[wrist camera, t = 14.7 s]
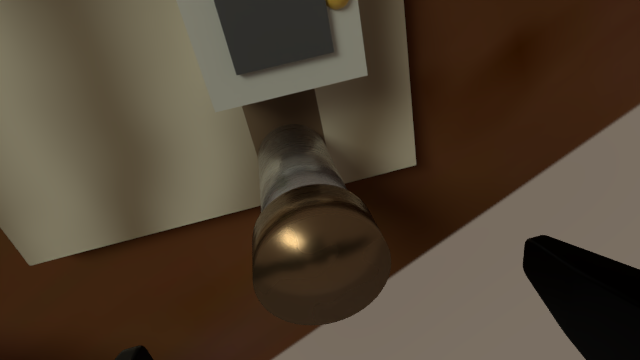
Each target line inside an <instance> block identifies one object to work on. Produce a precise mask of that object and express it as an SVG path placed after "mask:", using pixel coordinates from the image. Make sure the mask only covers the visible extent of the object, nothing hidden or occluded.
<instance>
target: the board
mask: <svg viewBox="0 0 640 360" xmlns="http://www.w3.org/2000/svg"><path fill="white" fill-rule="evenodd" d="M358 6H359V14H360V21H361V29H362V36H363V44H364V51H365V59H366V66H367V74H368V75H367V76H363V77H359V78H355V79H351V80H346V81H342V82H338V83H334V84H330V85H326V86H322V87H318V88H314V89H310V90H305V91H301V92H297V93H293V94H289V95H285V96H281V97H277V98H273V99H269V100H264V101H260V102H256V103H252V104H248V105H244V106H240V107H236V108H232V109H228V110H223V111H219V112H215V110H214V107H213V105H212V102H211V99H210V96H209V93H208V90H207V87H206V85H205V82H204V79H203V76H202V73H201V70H200V67H199V64H198V62H197V59H196V56H195V53H194V50H193V47H192V44H191V41H190V39H189V36H188V33H187V30H186V27H185V24H184V21H183V19H182V16H181V13H180V10H179V7H178V4H177V1H176V0H0V227H1V229H2V230H3V231H4V233H5V234H6V235H7V237H8V238H9V239H10V240H11V242H12V243H13V244H14V246H15V247H16V248H17V250H18V251H19V252H20V254H21V255H22V256H23V258H24V259H25V260H26V261H27V263H28V264H29V265H34V264H38V263H42V262H46V261H50V260H53V259H57V258H61V257H65V256H69V255H73V254H76V253H80V252H84V251H88V250H92V249H96V248H99V247H103V246H107V245H111V244H115V243H119V242H123V241H126V240H130V239H134V238H138V237H142V236H146V235H149V234H153V233H157V232H161V231H165V230H169V229H172V228H176V227H180V226H184V225H188V224H192V223H195V222H199V221H203V220H207V219H211V218H215V217H219V216H222V215H226V214H230V213H234V212H238V211H242V210H245V209H249V208H253V207H257V206H261V200H260V183H259V165H258V152H259V148H260V145H261V143H262V141H263V140H264V138H265V137H266V136H267V135H268V134H269V133H270V132H271V131H273V130H275V129H276V128H278V127H281V126H284V125H289V124H299V125H304V126H306V127H309V128H311V129H312V130H314V131H315V132H316V133H318V134H319V136H320V137H321V138H322V140H323V141H324V144H325V146H326V148H327V150H328V152H329V154H330V156H331V158H332V160H333V162H334V164H335V166H336V168H337V170H338V172H339V174H340V176H341V178H342V180H343V182H344V184H345V183H349V182H353V181H357V180H361V179H364V178H368V177H372V176H376V175H380V174H384V173H388V172H391V171H395V170H399V169H403V168H407V167H411V166H414V165H416V153H415V140H414V128H413V115H412V102H411V89H410V76H409V63H408V50H407V38H406V25H405V12H404V0H358Z"/></svg>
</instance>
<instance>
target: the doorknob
mask: <svg viewBox="0 0 640 360" xmlns="http://www.w3.org/2000/svg"><path fill="white" fill-rule="evenodd" d="M258 165H259V183H260V200H261V214H260V216H259V218H258V219H257V221H256V224H255V226H254V230H253V236H252V260H253V286H254V290H255V293H256V295H257V297H258V299H259V301H260V302H261V304H262V305H263V306H264V307H265V308H266V309H267V310H268V311H269V312H270V313H272V314H273V315H275V316H276V317H278V318H280V319H282V320H285V321H287V322H291V323H295V324H301V325H322V324H329V323H333V322H337V321H340V320H343V319H345V318H348V317H350V316H352V315H354V314H356V313H357V312H359V311H361V310H362V309H364V308H365V307H366V306H367V305H369V304H370V303H371V302H372V301H373V300H374V299H375V298H376V297H377V296H378V295H379V293H380V292H381V290H382V289H383V287H384V286H385V284H386V282H387V279H388V277H389V273H390V269H391V255H390V251H389V248H388V245H387V243H386V241H385V239H384V237H383V236H382V234H381V232H380V230H379V228H378V226H377V225H376V223H375V221H374V219H373V217H372V215H371V213H370V212H369V210H368V208H367V207H366V205H365V204H364V203H363V201H362V200H361V199H360V198H359V197H357V196H356V195H355V194H353V193H352V192H350V191H348V190H347V188H346V186H345V184H344V182H343V180H342V178H341V176H340V174H339V172H338V170H337V168H336V166H335V164H334V162H333V160H332V158H331V156H330V154H329V152H328V150H327V148H326V146H325V144H324V141H323V140H322V138H321V137H320V136H319V134H318V133H316V132H315V131H314V130H312V129H311V128H309V127H306V126H304V125H299V124H289V125H284V126H281V127H278V128H276V129H275V130H273V131H271V132H270V133H269V134H268V135H267V136H266V137H265V138H264V140H263V141H262V143H261V145H260V148H259V152H258Z"/></svg>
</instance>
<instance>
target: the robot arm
mask: <svg viewBox="0 0 640 360" xmlns="http://www.w3.org/2000/svg"><path fill="white" fill-rule="evenodd" d="M523 269H524V272H525V274H526V276H527V277H528V279H529V280H530V282H531V283H532V285H533V287H534V288H535V290H536V291H537V293H538V294H539V296H540V297H541V299H542V300H543V302H544V303H545V305H546V306H547V308H548V309H549V311H550V312H551V314H552V315H553V317H554V318H555V320H556V321H557V323H558V324H559V326H560V327H561V329H562V330H563V331H564V333H565V334H566V335H567V337H568V338H569V339H570V341H571V342H572V343H573V344H574V345H575V347H576V348H577V349H578V350H579V352H580V353H581V354H582V355H583V357H584V358H585V359H586V360H640V269H637V268H634V267H631V266H629V265H626V264H623V263H620V262H618V261H614V260H612V259H609V258H607V257H604V256H601V255H598V254H596V253H593V252H590V251H588V250H585V249H582V248H579V247H577V246H574V245H571V244H568V243H565V242H563V241H560V240H557V239H555V238H552V237H549V236H546V235H540V236H537V237H533V238H529V239H527V241H526V242H525V247H524V258H523ZM115 360H153V358H152V357H151V355H150V354H149V352H148V351H147V349H146V348H145V347H144V346H136V347H132V348H128V349H125V350H123V351H122V352H121V353H120V354H119V355H118V356H117V357H116V359H115Z"/></svg>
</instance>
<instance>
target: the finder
mask: <svg viewBox="0 0 640 360" xmlns="http://www.w3.org/2000/svg"><path fill="white" fill-rule="evenodd" d="M176 1H177V4H178V7H179V10H180V13H181V16H182V19H183V21H184V24H185V27H186V30H187V33H188V36H189V39H190V41H191V44H192V47H193V50H194V53H195V56H196V59H197V62H198V64H199V67H200V70H201V73H202V76H203V79H204V82H205V85H206V87H207V90H208V93H209V96H210V99H211V102H212V105H213V107H214V110H215V112H219V111H223V110H228V109H232V108H236V107H240V106H244V105H248V104H252V103H256V102H260V101H264V100H269V99H273V98H277V97H281V96H285V95H289V94H293V93H297V92H301V91H305V90H310V89H314V88H318V87H322V86H326V85H330V84H334V83H338V82H342V81H346V80H351V79H355V78H359V77H363V76H367V75H368V74H367V66H366V59H365V51H364V44H363V36H362V29H361V21H360V14H359V6H358V0H176Z"/></svg>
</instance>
